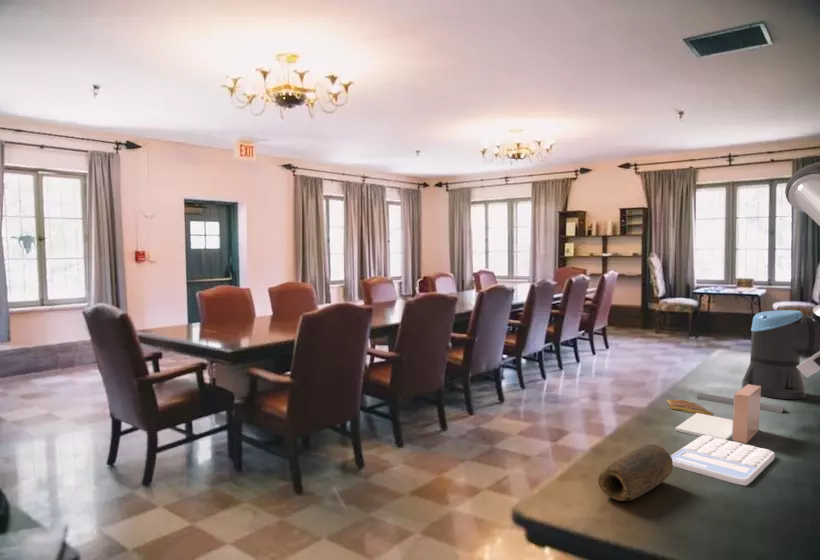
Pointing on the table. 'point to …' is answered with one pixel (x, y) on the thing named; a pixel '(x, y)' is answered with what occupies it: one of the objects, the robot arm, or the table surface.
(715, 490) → the table surface
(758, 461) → the calculator
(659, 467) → the stone weight
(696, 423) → the white rectangular slab
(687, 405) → the shard
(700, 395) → the gray half cylinder
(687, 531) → the table surface
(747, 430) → the terracotta tile
